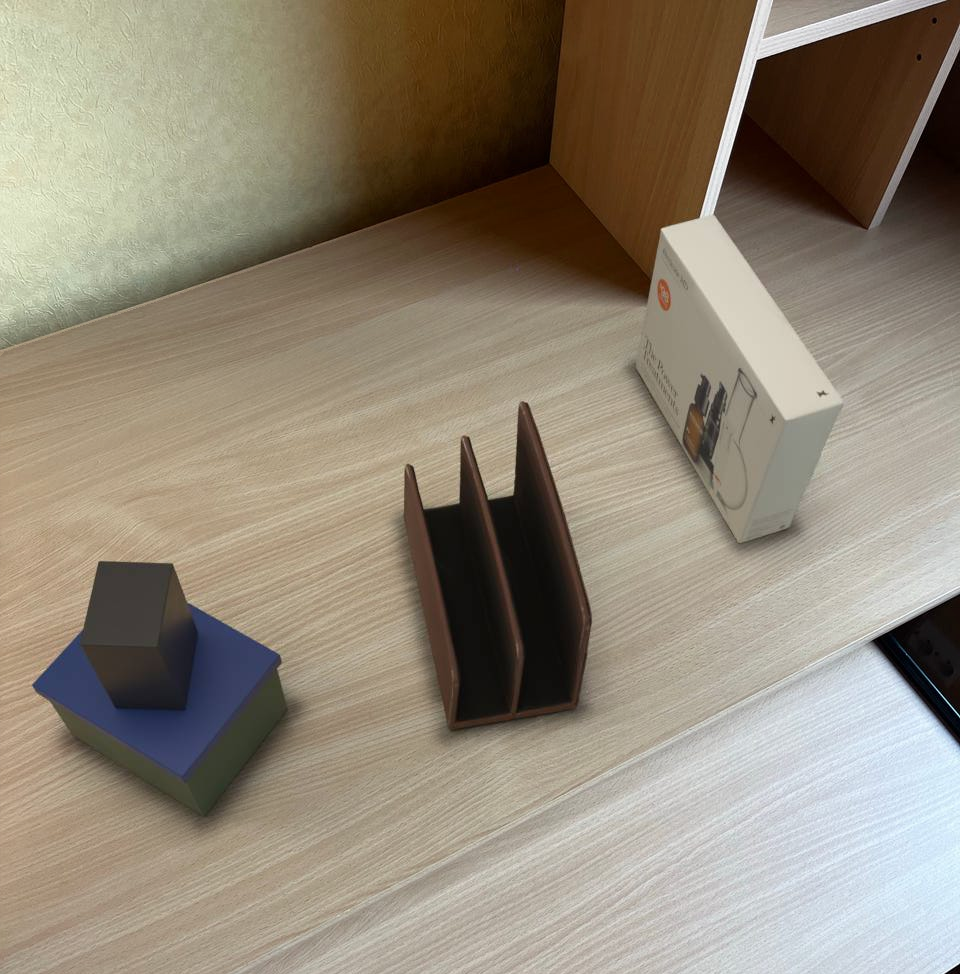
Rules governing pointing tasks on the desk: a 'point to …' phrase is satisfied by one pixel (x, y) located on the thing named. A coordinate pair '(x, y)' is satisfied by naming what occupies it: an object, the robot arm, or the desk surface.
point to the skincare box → (733, 379)
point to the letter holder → (501, 590)
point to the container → (178, 714)
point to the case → (140, 635)
